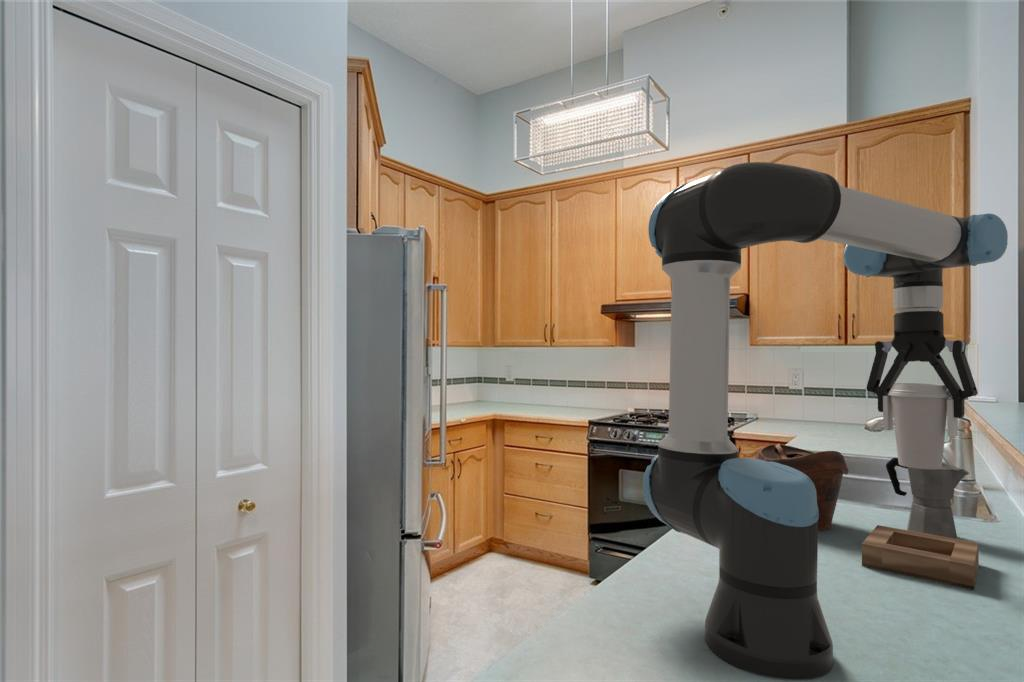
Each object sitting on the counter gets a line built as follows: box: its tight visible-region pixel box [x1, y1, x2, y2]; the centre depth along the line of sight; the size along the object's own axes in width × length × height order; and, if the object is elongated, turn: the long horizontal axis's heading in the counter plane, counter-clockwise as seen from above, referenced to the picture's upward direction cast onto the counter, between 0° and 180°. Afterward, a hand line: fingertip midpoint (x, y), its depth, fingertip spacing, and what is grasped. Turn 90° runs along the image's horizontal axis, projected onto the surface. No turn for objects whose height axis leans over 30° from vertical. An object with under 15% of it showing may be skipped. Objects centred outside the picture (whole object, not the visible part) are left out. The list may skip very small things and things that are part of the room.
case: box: [754, 442, 850, 532], centre depth 133 cm, size 18×20×18 cm
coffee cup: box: [888, 382, 952, 469], centre depth 106 cm, size 10×10×15 cm
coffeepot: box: [885, 457, 970, 539], centre depth 126 cm, size 15×9×18 cm, turn 35°
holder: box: [861, 524, 979, 591], centre depth 106 cm, size 16×16×4 cm
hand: (919, 432), depth 106 cm, fingers closed on coffee cup, 9 cm apart
